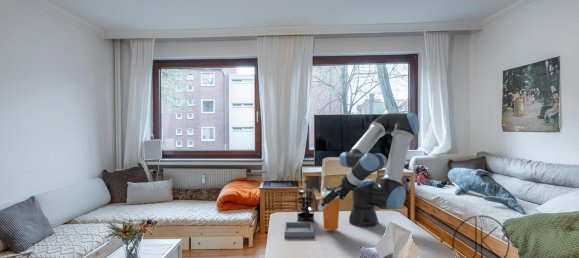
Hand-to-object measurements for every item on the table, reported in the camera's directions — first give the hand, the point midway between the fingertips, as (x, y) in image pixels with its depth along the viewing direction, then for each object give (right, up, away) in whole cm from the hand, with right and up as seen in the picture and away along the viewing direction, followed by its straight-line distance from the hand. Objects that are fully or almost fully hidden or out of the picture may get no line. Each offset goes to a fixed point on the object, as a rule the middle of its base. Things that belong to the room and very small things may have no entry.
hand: (325, 206), depth 150 cm
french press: (-9, -11, +14) cm, 20 cm away
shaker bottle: (+2, -10, -2) cm, 11 cm away
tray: (-14, -12, -4) cm, 19 cm away
